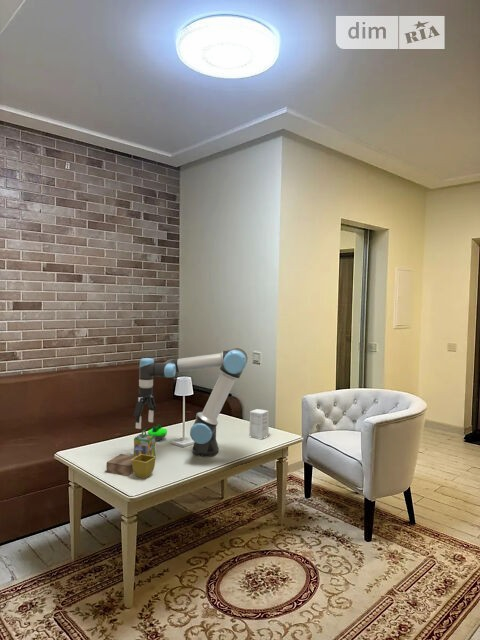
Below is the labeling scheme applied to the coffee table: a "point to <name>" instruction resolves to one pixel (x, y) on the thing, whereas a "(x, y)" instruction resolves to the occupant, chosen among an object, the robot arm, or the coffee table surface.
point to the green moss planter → (158, 432)
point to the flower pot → (143, 465)
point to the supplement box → (259, 423)
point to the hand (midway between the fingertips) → (144, 425)
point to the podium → (121, 465)
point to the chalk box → (144, 444)
